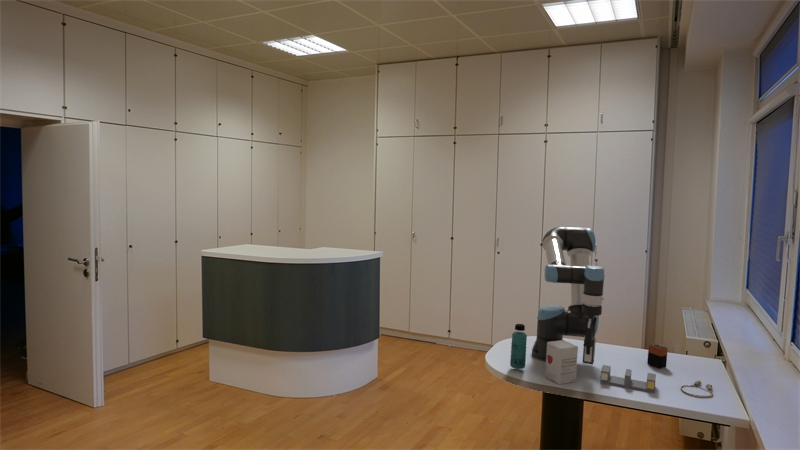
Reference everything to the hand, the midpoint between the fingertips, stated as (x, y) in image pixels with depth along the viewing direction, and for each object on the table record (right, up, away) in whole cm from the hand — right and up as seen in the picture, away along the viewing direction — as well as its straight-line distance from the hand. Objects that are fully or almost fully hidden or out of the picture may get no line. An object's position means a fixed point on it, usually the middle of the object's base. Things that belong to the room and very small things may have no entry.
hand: (588, 359), depth 218 cm
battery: (+37, -8, +19) cm, 42 cm away
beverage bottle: (-27, -7, +9) cm, 30 cm away
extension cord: (+41, -11, -9) cm, 43 cm away
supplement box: (-12, -8, 0) cm, 14 cm away
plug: (0, -1, 0) cm, 1 cm away
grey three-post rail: (+14, -9, -4) cm, 17 cm away
